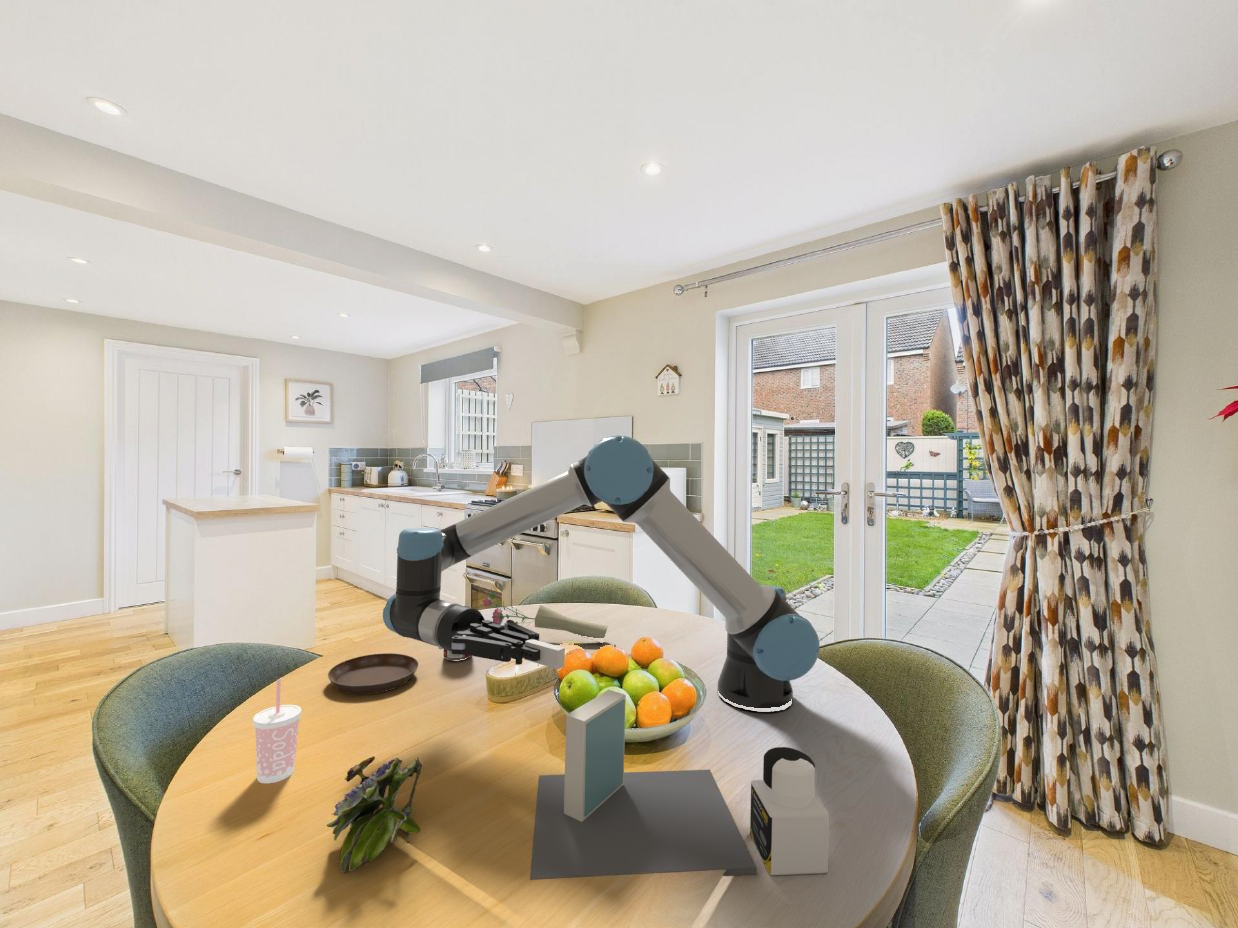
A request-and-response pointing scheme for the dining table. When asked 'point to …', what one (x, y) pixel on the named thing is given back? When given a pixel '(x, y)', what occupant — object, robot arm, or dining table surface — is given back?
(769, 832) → the medicine bottle
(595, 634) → the flower vase
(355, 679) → the plant saucer
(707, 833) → the mat
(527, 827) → the dining table surface
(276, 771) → the beverage cup
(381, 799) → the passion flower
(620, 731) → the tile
